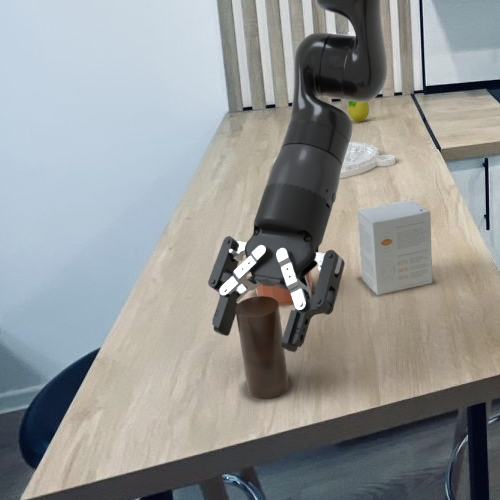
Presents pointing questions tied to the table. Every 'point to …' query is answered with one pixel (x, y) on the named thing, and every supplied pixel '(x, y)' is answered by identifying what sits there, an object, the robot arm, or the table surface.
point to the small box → (395, 246)
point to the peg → (262, 347)
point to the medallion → (362, 159)
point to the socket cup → (279, 292)
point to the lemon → (358, 110)
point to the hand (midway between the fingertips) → (253, 341)
